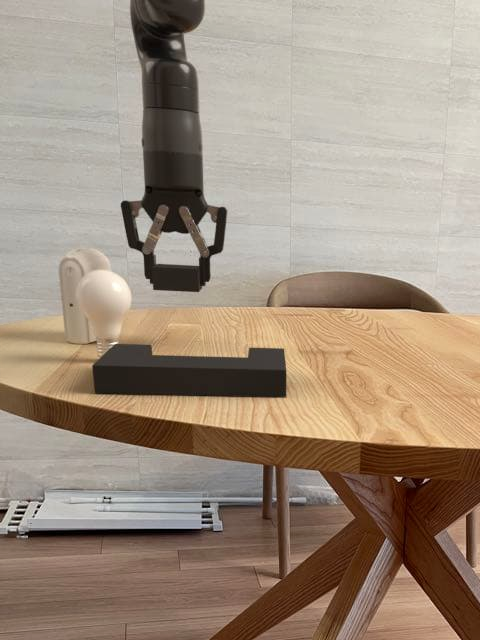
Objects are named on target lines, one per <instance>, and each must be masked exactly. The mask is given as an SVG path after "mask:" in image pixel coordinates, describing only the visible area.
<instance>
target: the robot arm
mask: <svg viewBox="0 0 480 640" xmlns="http://www.w3.org/2000/svg"><path fill="white" fill-rule="evenodd" d="M205 13H206V2H205V0H129V17H130V25H131V30H132V35H133V38H134V45H135V49H136V55H137V58H138V62H139V66H140V70H141V95H142V98H141V99H142V120H141V121H142V122H141V147H142V158H143V159H142V160H143V179H144V180H143V181H144V194H143V197H142V198H141V200H127V199H125V200H122V201H121V202H120V209H121V215H122V221H123V225H124V230H125V231H124V232H125V235H126V240H127V246H128V247H129V248H130V249H132V250H136V251H137V252H140V253H141V254H142V257H143V270H144V274H143V275H144V277H145V279H146V280H149V284H150V285H153V276H152V267H153V266H155V265H156V264H157V255H156V254H155V249H156V246H157V244H158V242H159V240H160V238H161V236H162V235H163V234H162V233H165V234H171V233H174V232H176V233H178V234H183V235H188V234H189V235H190V237H191V239H192V242H193V243H194V244H195V247H196V249H197V250H198V253H199V257H198V266H199V271H200V286H202V287H206V285H207V284H206V283H209V282H210V280H211V275H212V274H211V257H213V256H214V255H217V254H221V253H222V252H223V251H224V246H225V238H226V237H225V236H226V230H227V222H228V221H227V220H228V213H229V212H228V208H227V207H225V206H216V205H210V204H208V202H207V200H206V198H205V195H204V158H203V146H204V145H203V132H202V131H203V130H202V124H201V116H200V113H201V112H200V85H199V83H200V82H199V76H198V71H197V69H196V67H195V66H194V65H193V64H192V63H191V62H190V61H188V56H187V49H186V42H185V35H186V34H189V33H191V32H193V31H195V30H196V29H197V28H198V27H199V26H200V25H201V24H202V22H203V20H204V18H205V15H206V14H205ZM141 210H143V211H144V212H145V213H146V214H147V216H148V218H149V219H150V220H151V222H152V223H151V226H150V228H149V231H148V233H147V236H146V238H145V241H142V240H141V239H140V236H139V231H138V225H137V220H136V219H137V218H139V217H140V212H141ZM207 213H208V214H209V215H210V220H211V222H212V223H214V224H215V230H214V239H213V244H211V245H208V244H207V242H206V239H205V238H204V235H203V232H202V231H201V229H200V226H199V224H200V222H201V221H202V219H203V218H204V217H205V215H206V214H207Z"/></svg>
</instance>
